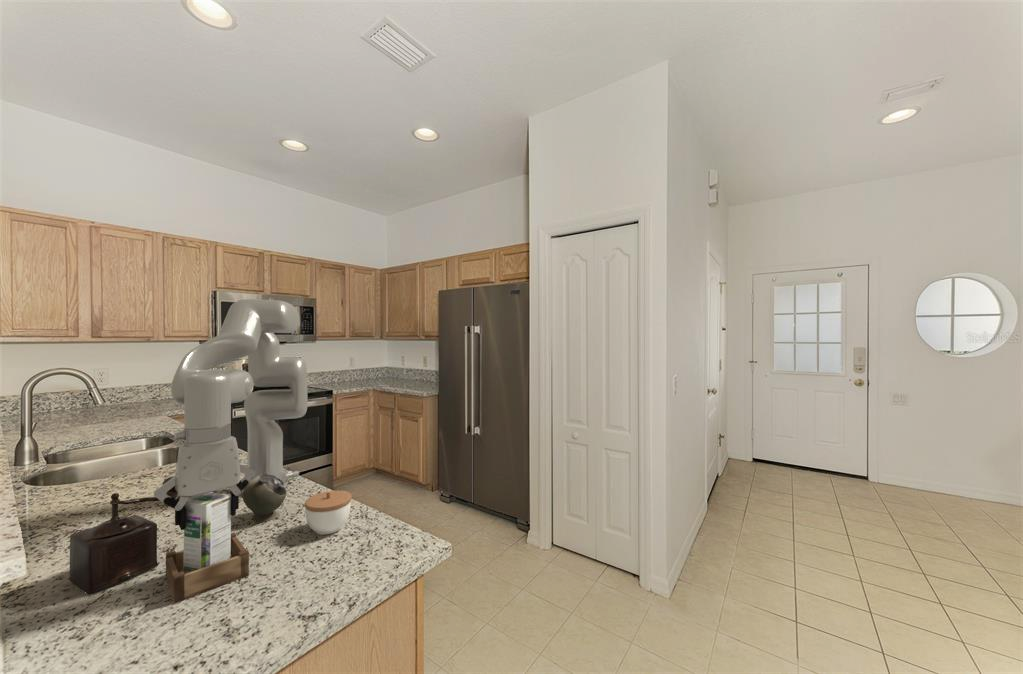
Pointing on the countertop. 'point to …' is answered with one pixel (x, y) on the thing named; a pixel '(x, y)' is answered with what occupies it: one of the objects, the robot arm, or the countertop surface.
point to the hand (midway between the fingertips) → (208, 519)
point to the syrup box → (207, 531)
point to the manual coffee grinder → (114, 549)
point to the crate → (205, 572)
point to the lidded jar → (328, 511)
